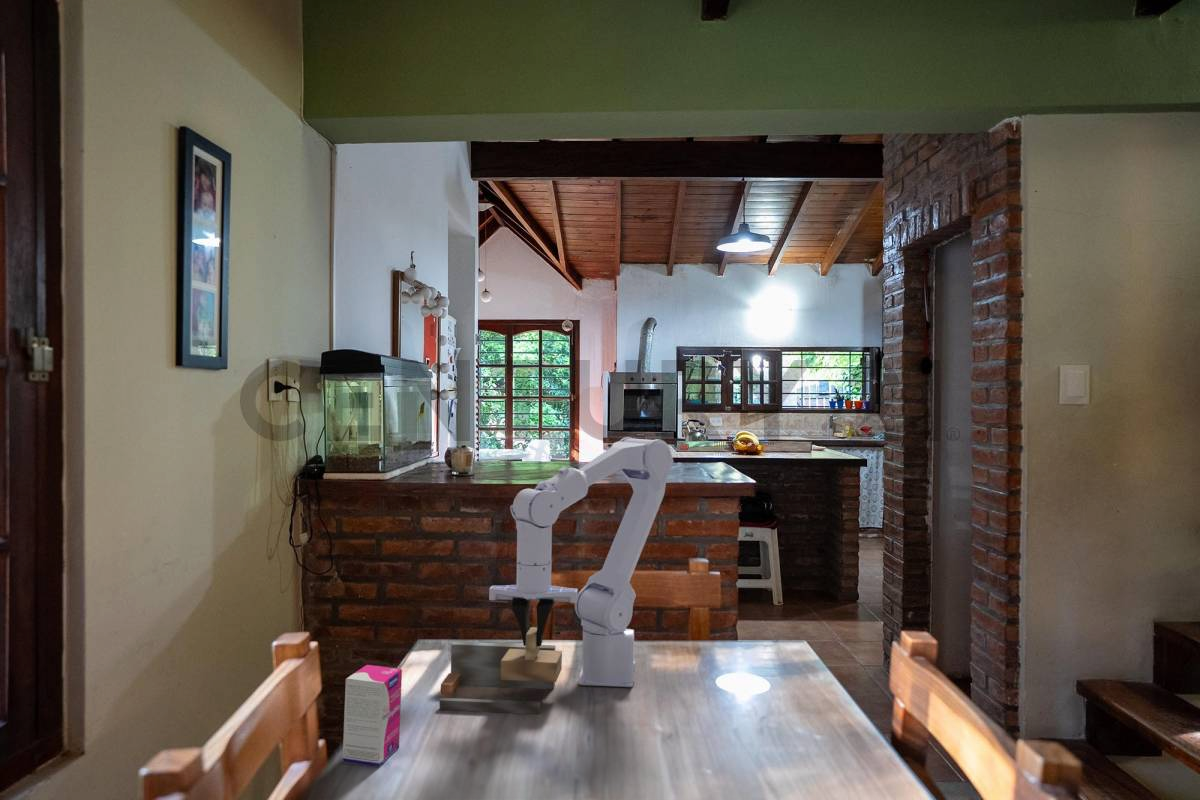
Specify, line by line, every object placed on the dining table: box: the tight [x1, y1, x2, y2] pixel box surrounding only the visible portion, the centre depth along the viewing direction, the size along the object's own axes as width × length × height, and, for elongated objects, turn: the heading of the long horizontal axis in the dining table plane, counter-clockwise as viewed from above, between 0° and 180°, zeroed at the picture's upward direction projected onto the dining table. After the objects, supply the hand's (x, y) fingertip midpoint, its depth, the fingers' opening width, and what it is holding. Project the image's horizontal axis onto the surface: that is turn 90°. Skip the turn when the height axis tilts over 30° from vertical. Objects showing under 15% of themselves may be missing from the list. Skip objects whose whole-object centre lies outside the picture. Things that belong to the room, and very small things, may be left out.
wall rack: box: [439, 641, 556, 715], centre depth 120 cm, size 18×12×7 cm, turn 86°
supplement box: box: [341, 664, 403, 768], centre depth 100 cm, size 6×6×12 cm
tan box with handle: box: [501, 626, 563, 683], centre depth 119 cm, size 9×7×7 cm
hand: (532, 644), depth 119 cm, fingers closed on tan box with handle
